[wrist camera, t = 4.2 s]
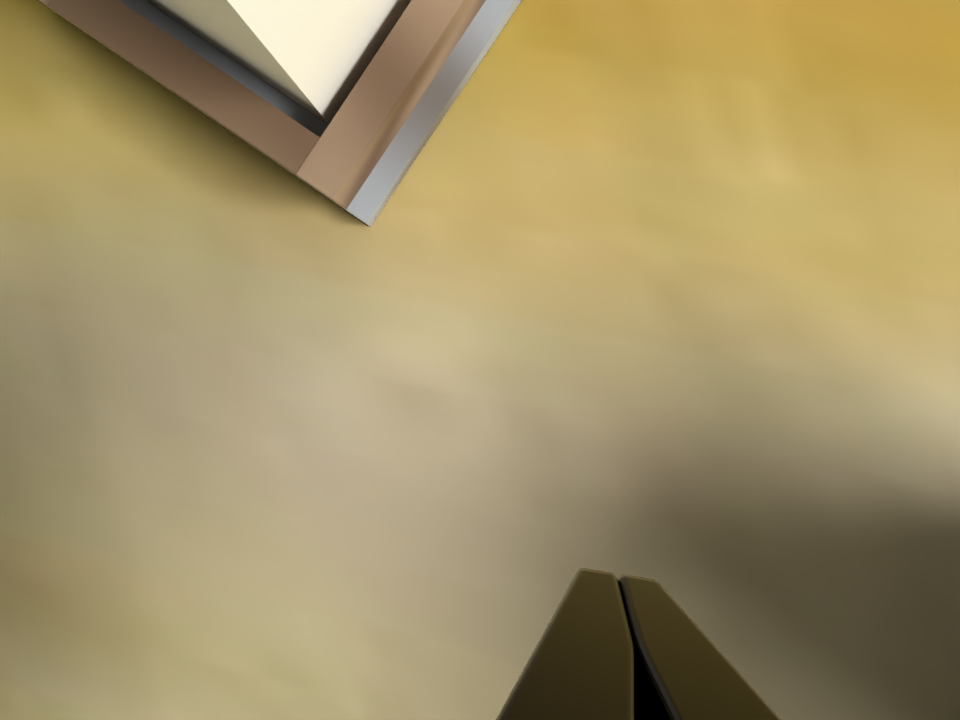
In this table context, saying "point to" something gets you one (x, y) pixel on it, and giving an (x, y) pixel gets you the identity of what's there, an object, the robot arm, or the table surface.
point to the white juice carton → (295, 41)
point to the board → (290, 127)
